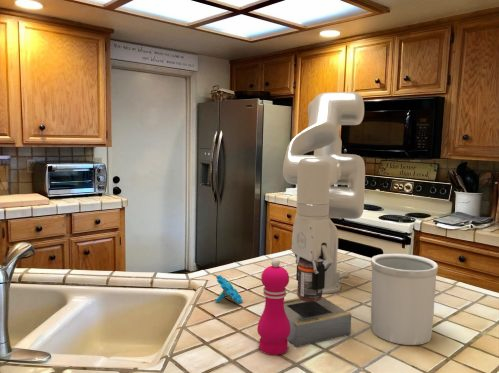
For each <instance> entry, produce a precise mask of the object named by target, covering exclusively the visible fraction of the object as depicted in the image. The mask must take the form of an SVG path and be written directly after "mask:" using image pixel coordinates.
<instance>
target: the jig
mask: <svg viewBox="0 0 499 373" xmlns="http://www.w3.org/2000/svg"><path fill="white" fill-rule="evenodd" d="M284 310H285V313H286V315H287V318H288V320H289V323H290V335H289V336H288V337H287V338H286V339H287V340H288V342H289V343H291V344H292V345H293V346H294V347H295V348H298V347H302V346H307V345H310V344H311V345H312V344H315V343H319V342H324V341H329V340H332V339H337V338H341V337H346V336H350V335H351V334H352V332H351V329H352V312H351V311H347V310H345V309H344V308H341V306H338V305H337V304H335V303H333V302H331V300H328V299H327V298H325V297H323V296H322V299H321V300H319V301H316V302H306V301H303V300H301V299H299V298H298V297H294V298H289V299H284Z"/></svg>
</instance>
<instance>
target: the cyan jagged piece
mask: <svg viewBox="0 0 499 373" xmlns="http://www.w3.org/2000/svg"><path fill="white" fill-rule="evenodd" d="M215 279H216V282H217V283H218V284H219V285H220V288H221V289H222V291H221V292H219V296H218V297H217V298H216V299H215V302H216V303H220V302H221V301H222V300H223V299H224V298H225V297H226V296H227V297H228V296H231V298H232V300H233V301H234V302H236V303H237V304H241V303H243V301H244V300H243V299H242V295H240V294H239V291H238V290H237V289H235V288H234V286H233V284H232V282H231V281H228V280H227V279H226V278H225V277H223V276H221V275H220V274H219V275H217V276H216V277H215Z"/></svg>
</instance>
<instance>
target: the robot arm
mask: <svg viewBox="0 0 499 373" xmlns="http://www.w3.org/2000/svg"><path fill="white" fill-rule="evenodd" d="M307 115H308V116H307V117H308V124H307V125H308V126H307V127H305V128H304V129H303V130H302V131H300V132H298V133H297V134H296V135H295V136H294V137H293V138H292V139H291V140H290V142H289V143H288V145H287V148H286V151H285V156H284V160H283V167H282V175H283V178H284V181H285V182H286V183H288V184H291V185H296V211H295V212H296V213H295V216H294V220H293V225H292V226H293V227H292V234H291V235H292V236H291V251H292V253H293V254H294V257H295V264H296V281H297V282H298V263H299V261H300V260H302V258H304V259H306V260H308V261H310V262H312V263H313V268H314V273H312V289H313V290H319V289H322V294H333V293H337V292H339V291H341V290H342V284H341V282H340V281H342V280H346V279H349V277H350V274H349V272H348V271H347V272H341V271H339V270H338V251H339V231H338V228H337V227H336V225H335V224H334V222H333V221H332V220H331V219H346V220H347V219H348V220H357V219H359V218H361V217H362V215H363V213H364V209H365V192H366V191H365V190H366V189H365V188H366V187H365V186H366V184H365V183H366V165H365V161H364V159H363V157H361V156H360V155H357V154H353V153H352V154H350V153H342V147H343V146H342V145H343V144H342V143H343V142H342V139H341V137H340V135H339V133H340V126H357V125H360V124H361V123H362V122H363V120H364V117H365V102H364V98H363V97H362V95H361V94H359V93H358V92H355V91H338V92H337V91H331V92H329V91H328V92H322V93H319V94H317V95H316V96H315V97H314V98H313V100H311V101H310V102H309V104H308V106H307ZM312 151H313V154H310V155H309V154H307V153H310V152H312ZM334 185H339V186H334ZM340 185H343V186H340ZM318 258H319V259H318ZM317 262H321V264H320V266H319V267H318V264H317Z"/></svg>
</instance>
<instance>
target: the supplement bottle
mask: <svg viewBox="0 0 499 373" xmlns="http://www.w3.org/2000/svg"><path fill="white" fill-rule="evenodd" d="M318 259H319V258H318ZM317 264H318V267H319V266H320V264H321V262H317ZM297 265H298V281H297V298H299V299H301V300H303V301H306V302H316V301H319V300H321V299H322V297H323V293H322V289H319V290H313V289H312V273H314V268H313V263H312V262H310V261H308V260H306V259H304V258H302V260H300V261H299V263H298V264H297Z"/></svg>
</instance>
